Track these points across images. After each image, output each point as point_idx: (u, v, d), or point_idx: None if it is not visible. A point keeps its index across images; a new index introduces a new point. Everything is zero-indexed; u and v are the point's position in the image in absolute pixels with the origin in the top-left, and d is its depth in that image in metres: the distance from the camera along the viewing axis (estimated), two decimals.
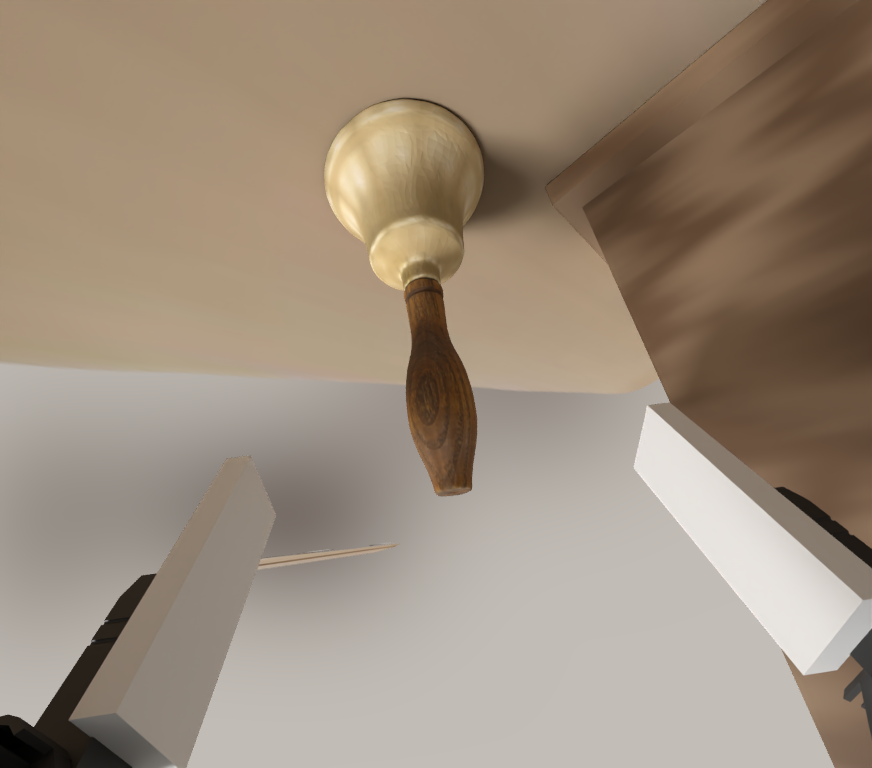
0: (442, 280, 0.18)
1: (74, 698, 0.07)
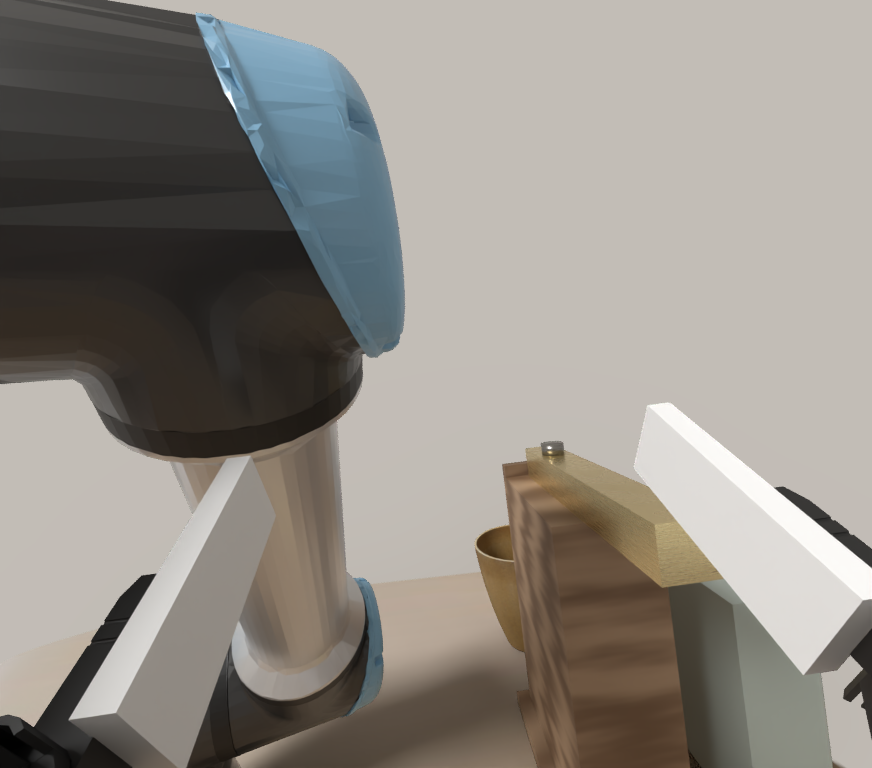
0: None
1: (74, 698, 0.07)
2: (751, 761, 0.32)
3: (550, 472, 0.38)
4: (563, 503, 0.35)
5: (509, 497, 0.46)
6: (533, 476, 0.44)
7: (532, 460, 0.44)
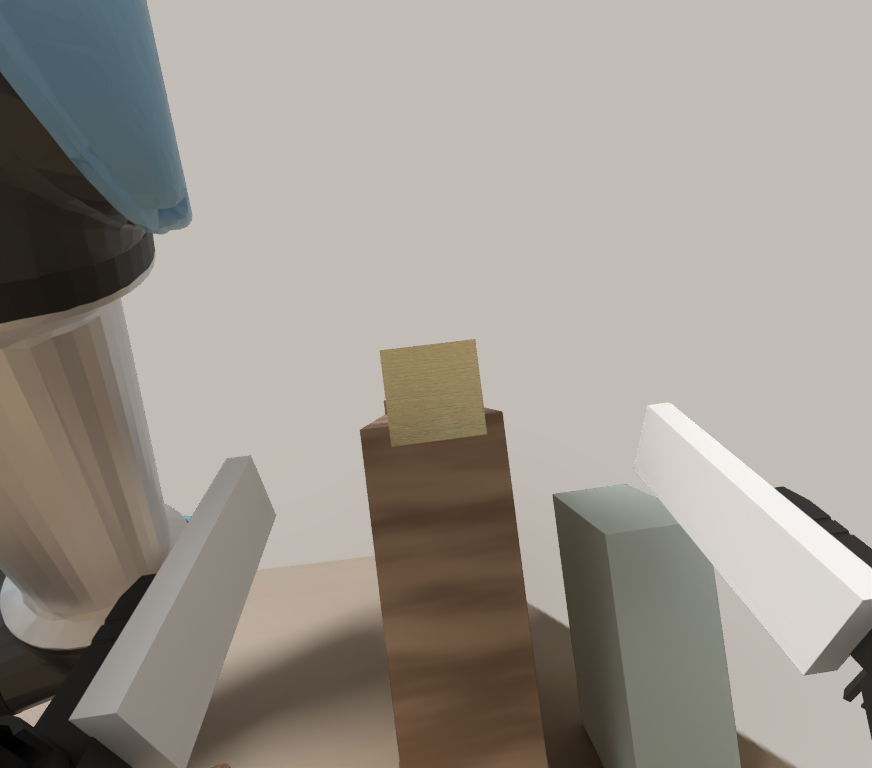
0: None
1: (73, 699, 0.07)
2: (632, 739, 0.25)
3: None
4: None
5: None
6: None
7: None
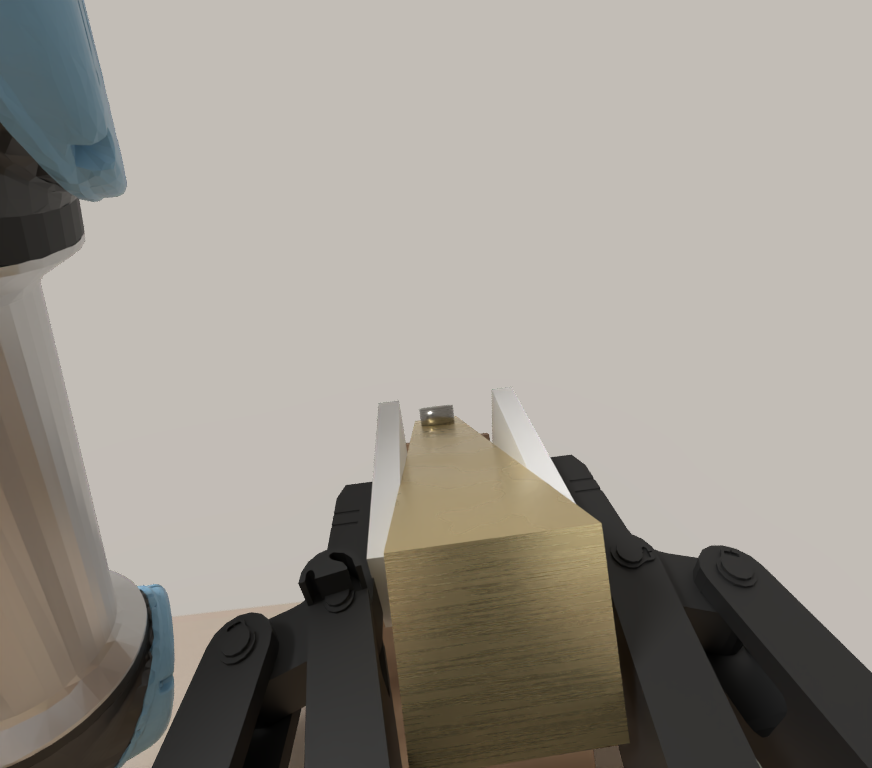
0: None
1: None
2: None
3: None
4: None
5: None
6: None
7: None
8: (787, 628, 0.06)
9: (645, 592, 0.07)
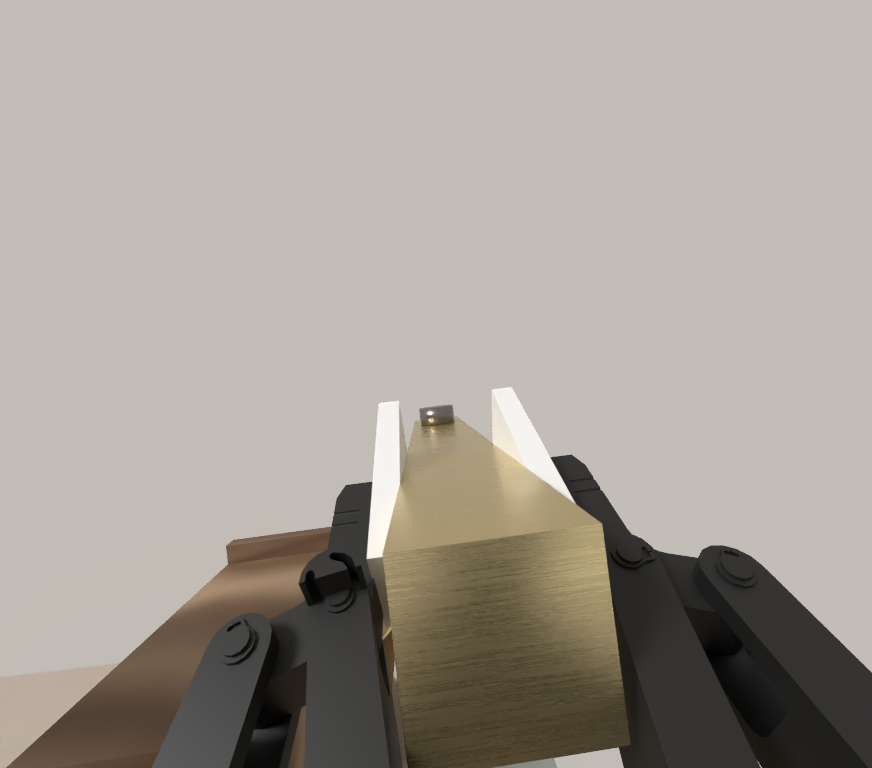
0: None
1: None
2: None
3: None
4: None
5: None
6: None
7: None
8: (787, 628, 0.06)
9: (645, 592, 0.07)
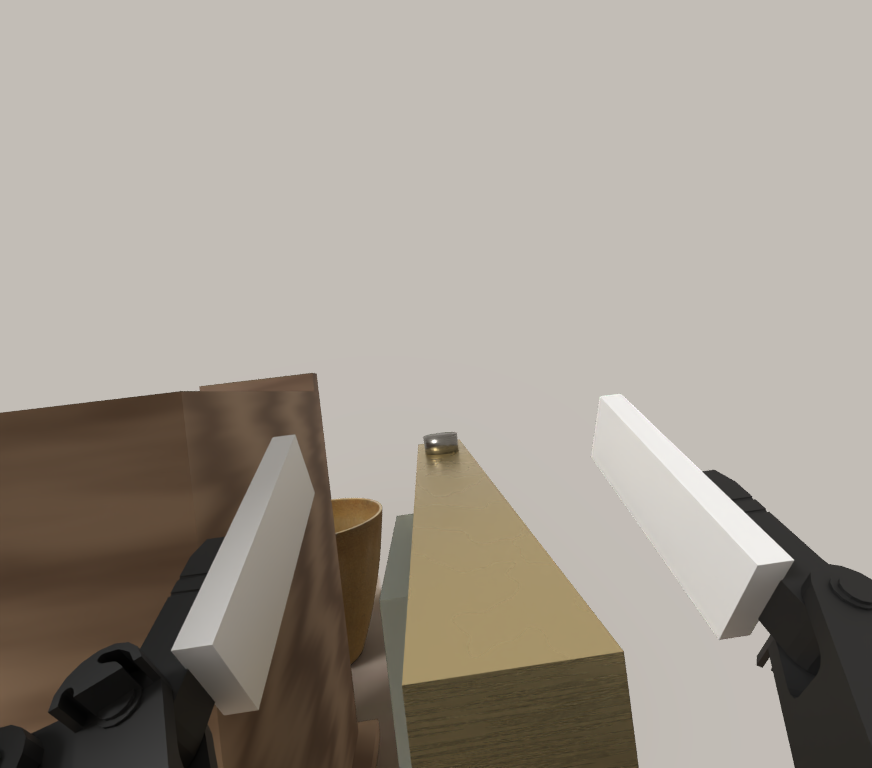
0: None
1: (164, 639, 0.08)
2: None
3: None
4: None
5: None
6: None
7: None
8: None
9: None
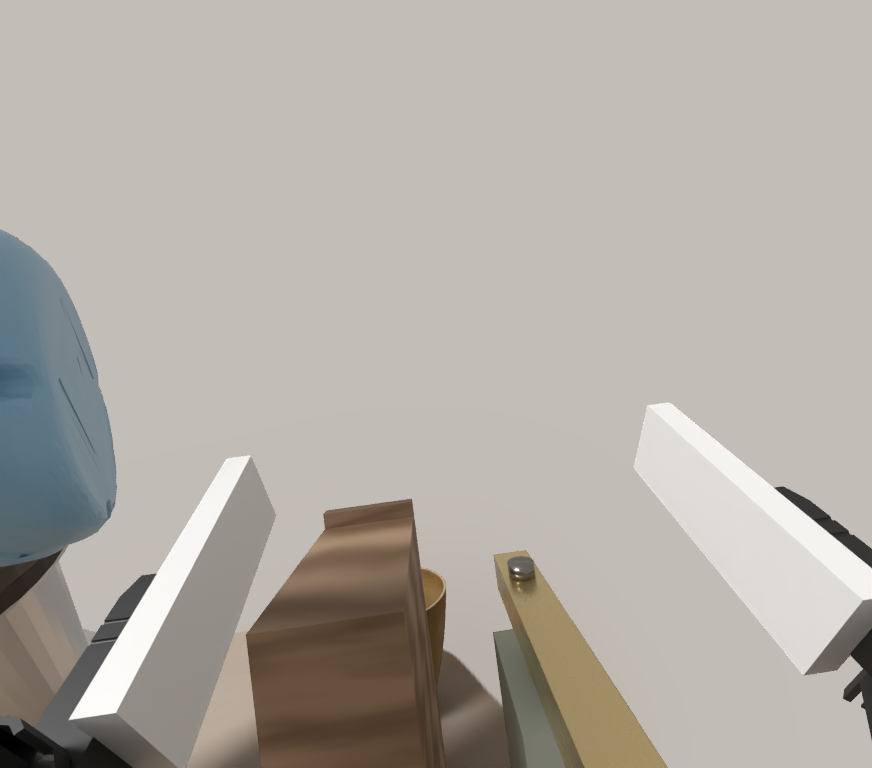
0: None
1: (74, 698, 0.07)
2: None
3: (514, 612, 0.31)
4: (527, 665, 0.28)
5: None
6: (501, 594, 0.37)
7: (499, 576, 0.37)
8: None
9: None
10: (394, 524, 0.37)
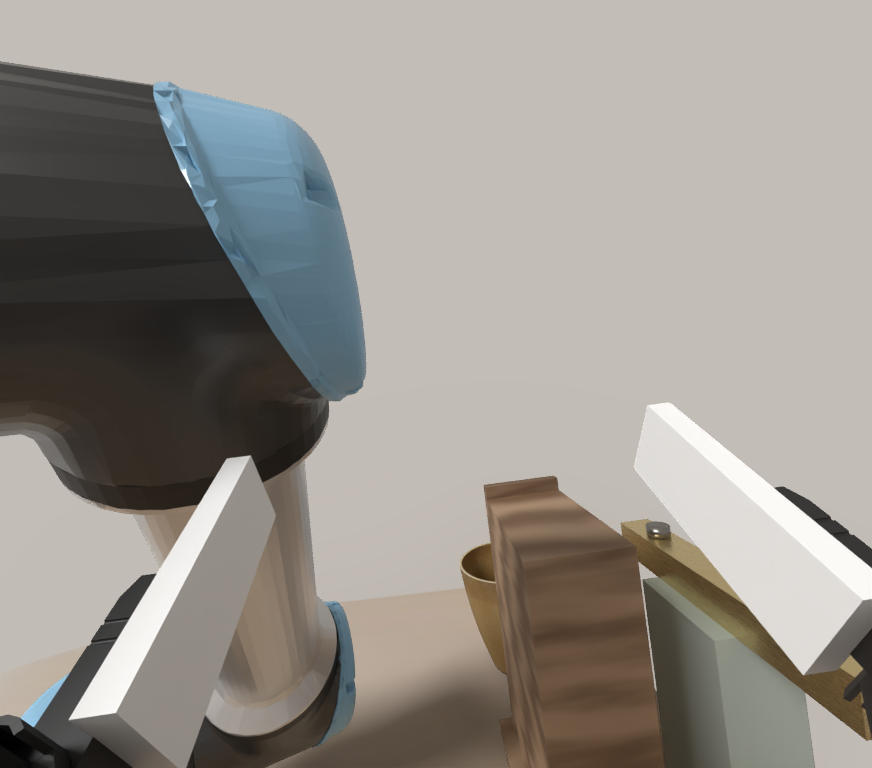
0: None
1: (74, 698, 0.07)
2: None
3: (667, 562, 0.39)
4: (688, 598, 0.36)
5: (490, 520, 0.45)
6: None
7: (633, 538, 0.45)
8: None
9: None
10: (549, 495, 0.45)
